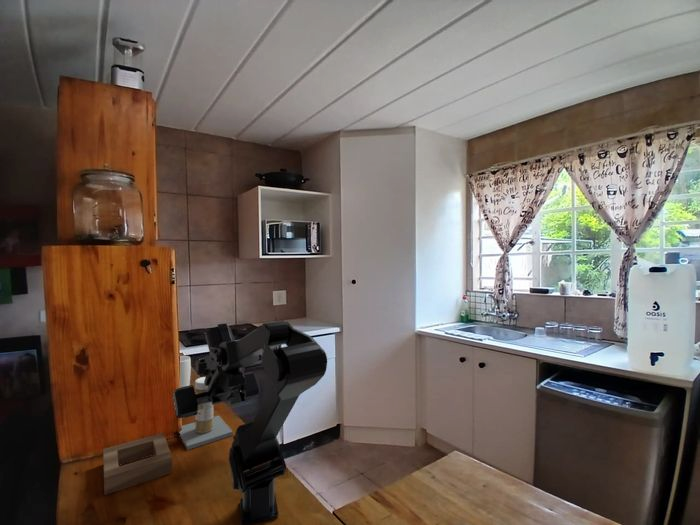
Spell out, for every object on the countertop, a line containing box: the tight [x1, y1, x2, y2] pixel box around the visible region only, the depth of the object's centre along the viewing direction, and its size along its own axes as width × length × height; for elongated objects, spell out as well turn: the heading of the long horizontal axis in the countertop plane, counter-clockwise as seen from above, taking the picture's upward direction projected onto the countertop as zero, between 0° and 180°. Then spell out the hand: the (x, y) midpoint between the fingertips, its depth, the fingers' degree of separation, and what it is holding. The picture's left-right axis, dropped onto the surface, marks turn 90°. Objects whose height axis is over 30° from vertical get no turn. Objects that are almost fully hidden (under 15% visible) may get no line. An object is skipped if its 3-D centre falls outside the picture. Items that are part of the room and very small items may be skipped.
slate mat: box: [179, 415, 234, 451], centre depth 92 cm, size 11×11×1 cm
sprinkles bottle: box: [194, 376, 214, 433], centre depth 91 cm, size 5×5×13 cm
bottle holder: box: [102, 432, 173, 496], centre depth 77 cm, size 12×12×4 cm
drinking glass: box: [179, 355, 192, 387], centre depth 106 cm, size 7×7×15 cm
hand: (211, 408), depth 87 cm, fingers open, 9 cm apart
